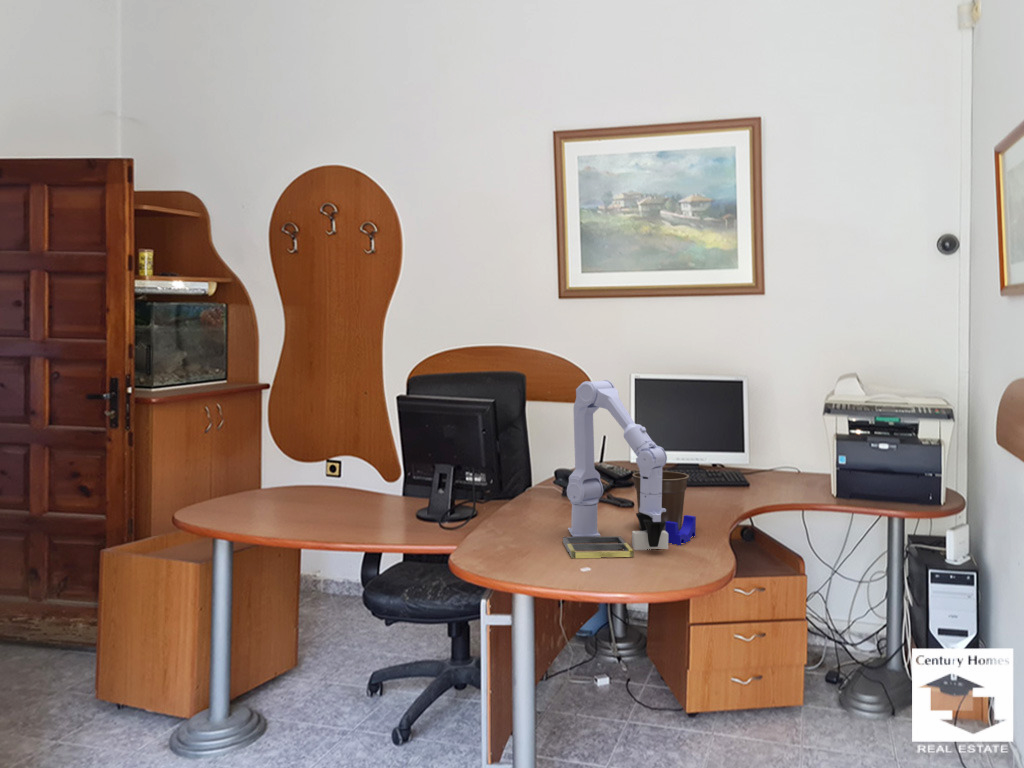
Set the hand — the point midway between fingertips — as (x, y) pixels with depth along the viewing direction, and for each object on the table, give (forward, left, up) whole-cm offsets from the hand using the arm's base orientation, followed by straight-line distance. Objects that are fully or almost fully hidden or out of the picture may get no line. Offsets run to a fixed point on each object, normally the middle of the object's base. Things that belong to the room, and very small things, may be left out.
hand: (650, 543), depth 236 cm
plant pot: (-22, +8, -2) cm, 23 cm away
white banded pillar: (0, 0, -2) cm, 2 cm away
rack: (+1, -14, -1) cm, 15 cm away
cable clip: (-8, +11, -2) cm, 14 cm away
